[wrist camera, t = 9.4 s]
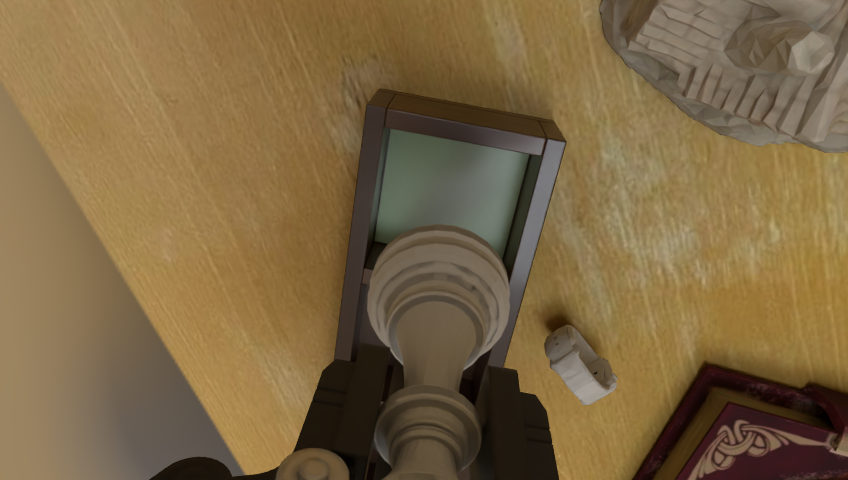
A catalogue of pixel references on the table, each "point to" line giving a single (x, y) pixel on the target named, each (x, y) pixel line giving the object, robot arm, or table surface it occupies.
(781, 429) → the book
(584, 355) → the white ring
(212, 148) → the table surface
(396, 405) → the chess piece
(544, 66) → the table surface
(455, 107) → the rack
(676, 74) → the ceramic cottage
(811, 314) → the table surface
